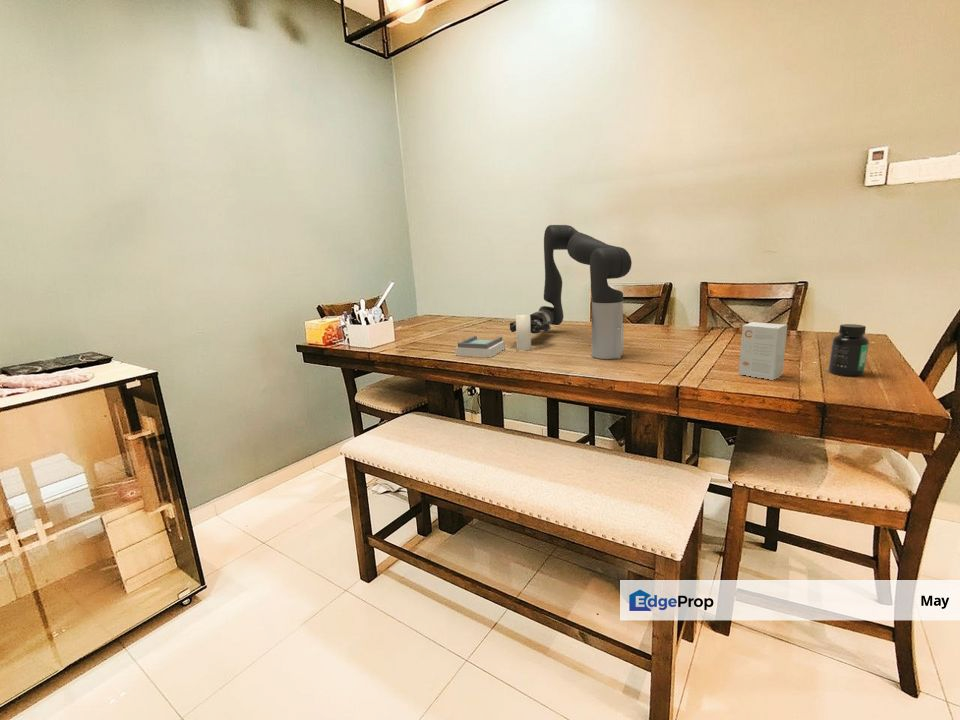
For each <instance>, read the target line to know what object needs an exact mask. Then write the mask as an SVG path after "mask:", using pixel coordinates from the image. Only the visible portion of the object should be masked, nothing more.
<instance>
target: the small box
mask: <svg viewBox="0 0 960 720" xmlns="http://www.w3.org/2000/svg"><path fill="white" fill-rule="evenodd" d="M787 333H788V324H782V323H770V322H769V323H767V322H754V321H751V322H749V323H745V324H743V325H742V328H741V339H740V340H741V341H740V349H739V350H740V352H739V361H738V363H739V365H738V375H739V374H740V375H739V376H742V375H746V376H745V377H749V376H751V377H750V378H755V377H757V378H756V379H761V378H764V379H763V380H767V379H769V380H768V381H775V380H777V379H778V378H780V377H781V376H783V372H784V365H785V364H784V363H785V356H786V355H785V354H786V353H785V352H786V344H787V335H788V334H787ZM776 378H777V379H776ZM774 379H775V380H774Z"/></svg>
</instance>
